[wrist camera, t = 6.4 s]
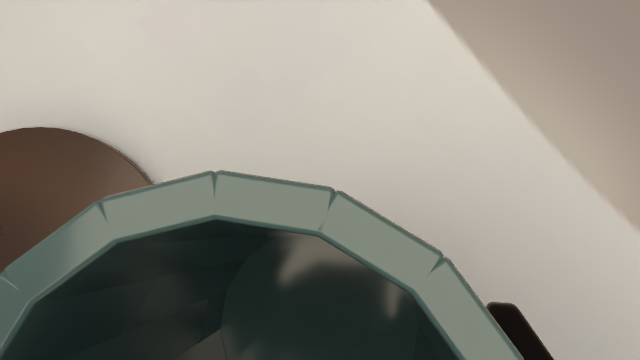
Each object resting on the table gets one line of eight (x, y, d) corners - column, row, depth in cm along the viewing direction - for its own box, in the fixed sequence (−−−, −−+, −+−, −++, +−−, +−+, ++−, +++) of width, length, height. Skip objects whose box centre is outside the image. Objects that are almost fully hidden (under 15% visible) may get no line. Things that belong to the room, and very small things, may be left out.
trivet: (212, 396, 20) (208, 400, 19) (-79, 461, 21) (-87, 466, 20) (149, 96, 21) (144, 94, 21) (-125, 168, 22) (-134, 167, 21)
